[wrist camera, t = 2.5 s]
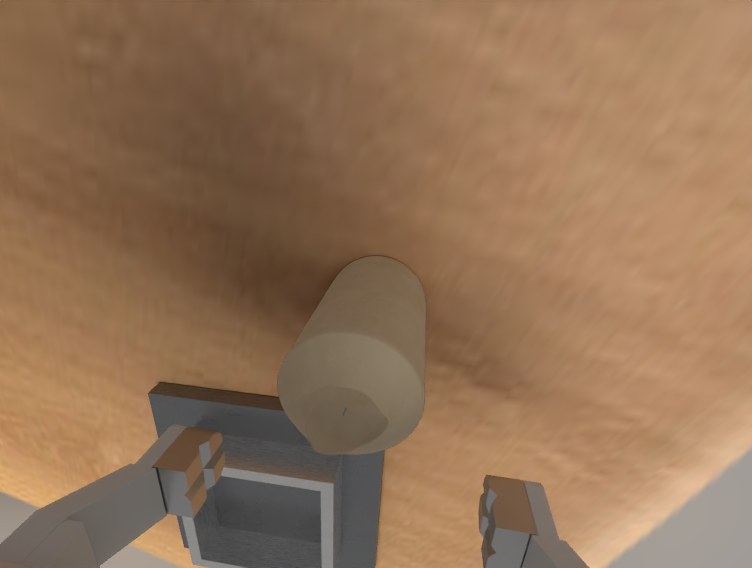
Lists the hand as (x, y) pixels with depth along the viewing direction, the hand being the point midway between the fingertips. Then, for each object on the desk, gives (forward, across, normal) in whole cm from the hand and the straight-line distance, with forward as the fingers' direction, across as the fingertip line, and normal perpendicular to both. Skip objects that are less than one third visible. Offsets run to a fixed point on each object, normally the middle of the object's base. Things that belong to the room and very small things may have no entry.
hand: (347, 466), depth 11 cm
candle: (+11, +1, 0) cm, 11 cm away
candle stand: (+11, +8, +16) cm, 21 cm away
